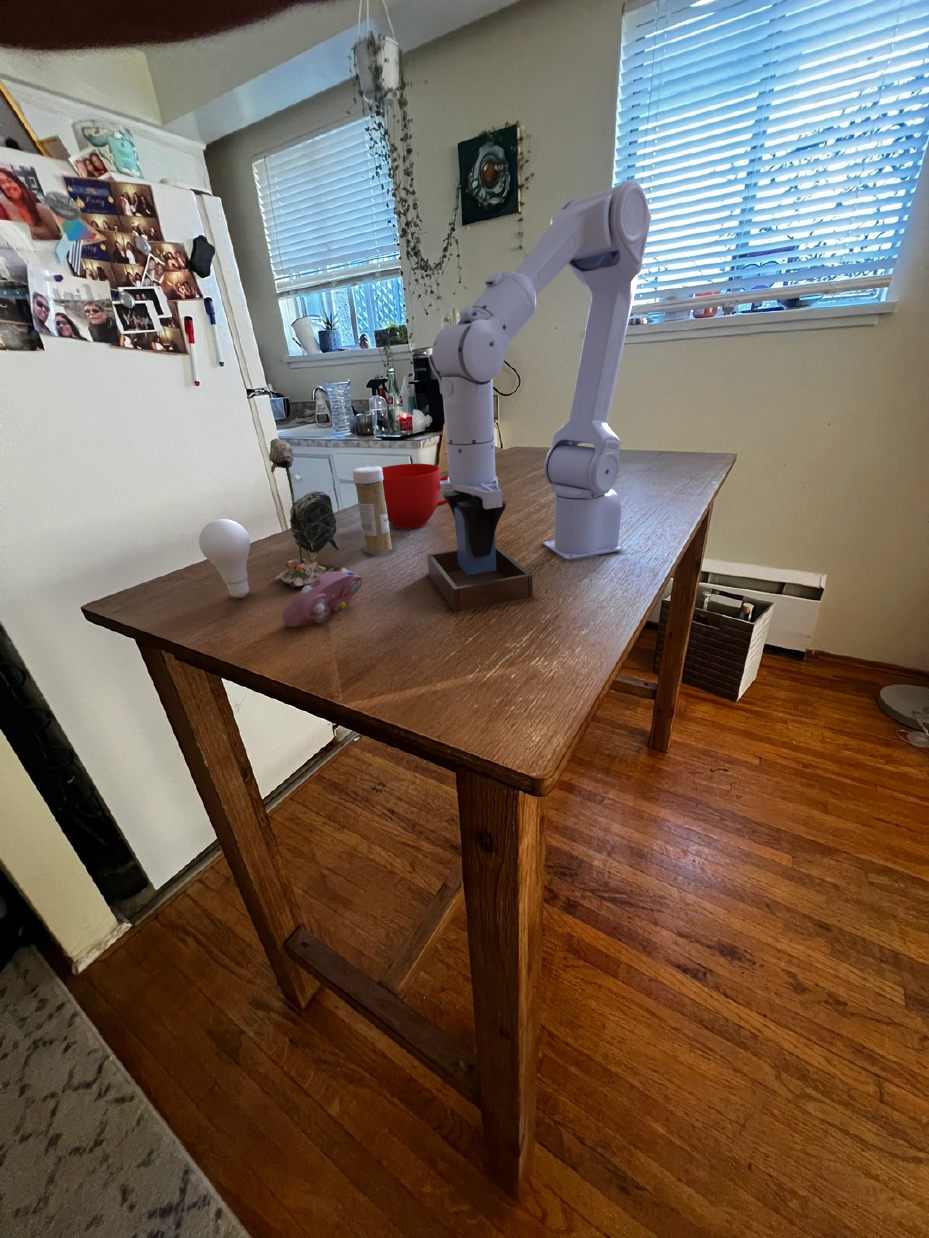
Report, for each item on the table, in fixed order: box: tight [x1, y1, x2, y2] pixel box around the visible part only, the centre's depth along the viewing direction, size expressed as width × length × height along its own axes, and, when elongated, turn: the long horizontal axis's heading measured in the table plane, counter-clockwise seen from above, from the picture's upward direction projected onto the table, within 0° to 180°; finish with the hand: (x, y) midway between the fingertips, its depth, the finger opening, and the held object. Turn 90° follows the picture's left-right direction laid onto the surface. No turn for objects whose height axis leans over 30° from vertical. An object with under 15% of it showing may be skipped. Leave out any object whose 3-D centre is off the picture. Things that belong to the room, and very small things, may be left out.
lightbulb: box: [198, 518, 251, 599], centre depth 67 cm, size 6×6×11 cm
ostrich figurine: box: [268, 438, 340, 588], centre depth 71 cm, size 8×11×20 cm
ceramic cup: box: [381, 463, 448, 530], centre depth 94 cm, size 13×17×10 cm
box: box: [426, 543, 533, 613], centre depth 67 cm, size 10×13×3 cm
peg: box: [454, 507, 496, 575], centre depth 65 cm, size 4×4×8 cm
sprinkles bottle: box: [352, 465, 393, 555], centre depth 80 cm, size 5×5×14 cm
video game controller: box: [282, 567, 363, 628], centre depth 62 cm, size 10×5×7 cm, turn 148°
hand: (475, 549), depth 66 cm, fingers closed on peg, 4 cm apart
